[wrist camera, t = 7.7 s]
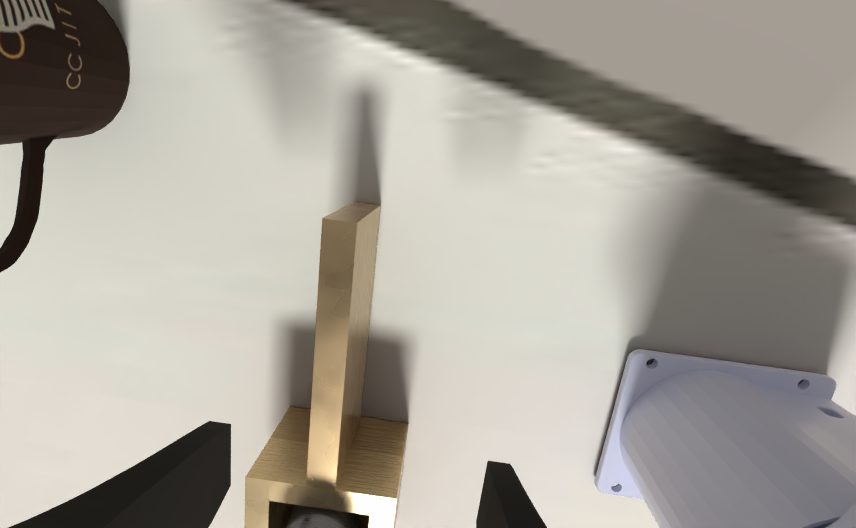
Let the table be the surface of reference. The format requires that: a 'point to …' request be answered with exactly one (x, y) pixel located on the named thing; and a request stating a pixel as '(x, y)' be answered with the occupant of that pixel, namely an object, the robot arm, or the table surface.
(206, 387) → the table surface
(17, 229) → the coffee mug
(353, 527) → the pin
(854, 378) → the table surface
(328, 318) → the tan wooden bar
